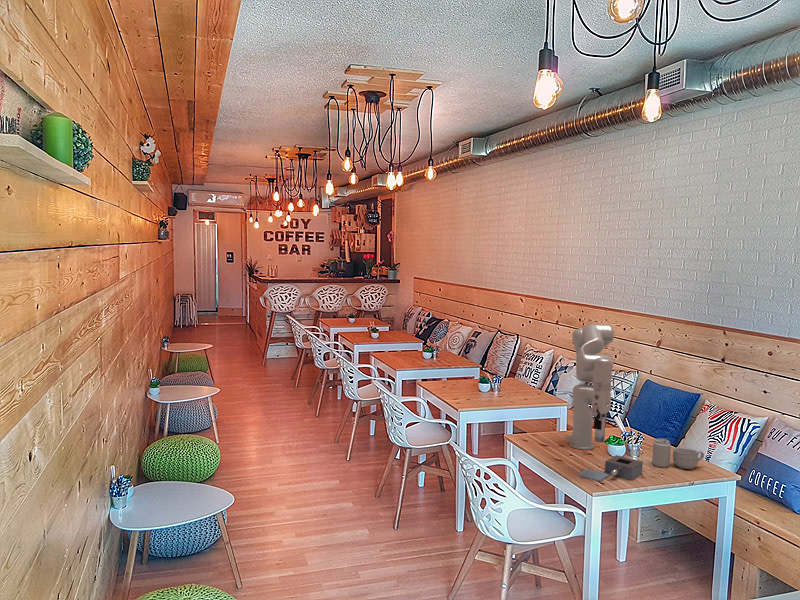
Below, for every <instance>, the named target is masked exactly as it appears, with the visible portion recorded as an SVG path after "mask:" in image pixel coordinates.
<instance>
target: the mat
mask: <svg viewBox="0 0 800 600" xmlns="http://www.w3.org/2000/svg"><path fill="white" fill-rule="evenodd" d="M577 476H578V477H581V478H584V479H587V478H588V480H590V479H592V480H591V481H594V480H596V481H595V482H598V481H601V480H602V481H604V480H606V479H607V478H608V477H610V475H609V474H606V473H605V472H602V471H598V470H595V469H591V468H586V469H584V470H583V471H580V472H579V473H577ZM606 477H607V478H606ZM605 478H606V479H605ZM603 479H604V480H603ZM602 481H601V482H602Z"/></svg>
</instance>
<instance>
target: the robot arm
mask: <svg viewBox="0 0 800 600" xmlns="http://www.w3.org/2000/svg"><path fill="white" fill-rule="evenodd" d="M614 338H615V330H614V328H613V327H612V326H611V325H610V324H605V323H604V324H601V323H600V324H599V323H597V324H596V323H590V324H586V325H585V326H583V328H577V329H576V328H575V329H574V330H573V332H572V343H573V347H574V349H575V355H576V356H575V358H576V359H575V360H576V361H575V363H576V364H575V376H576V379H577V380H578V381H580V382H585V383H586V382H587V384H585V383H584V384H583V383H581V384H580V383H579V384H576V385H574V386H573V388H572V400H573V401H572V402H573V403H572V404H573V410H572V411H573V414H572V415H573V416H572V417H573V418H572V433H571V434H572V435H570V434H565V435H564V436H565V437H564V438H565V440H569V441H568V445H570V446H569V447H571V448H574V449H577V450H585V451H588V450H593V449H595V447H596V446H595V443H593V429H594V430H595V429H599V430H601V426H602V421H601V415H602V414H605V413H606V418H605V428H606V426H607V425H606V424H607V414H608V413H609V412H611V409H612V394H611V390H612V374H613V373H612V371H613V366H614V359H612V357H611V356H610V355H606V354H604V355H603V354H599V353H601V352H602V351H603V350H604V348H605V347H608V346H609V345H610V344H611V343H612V342H613V341H614ZM588 383H592V384H588ZM589 405H591V407H590V406H589ZM597 411H598V412H599V413H597ZM597 414H599V415H597Z"/></svg>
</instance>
